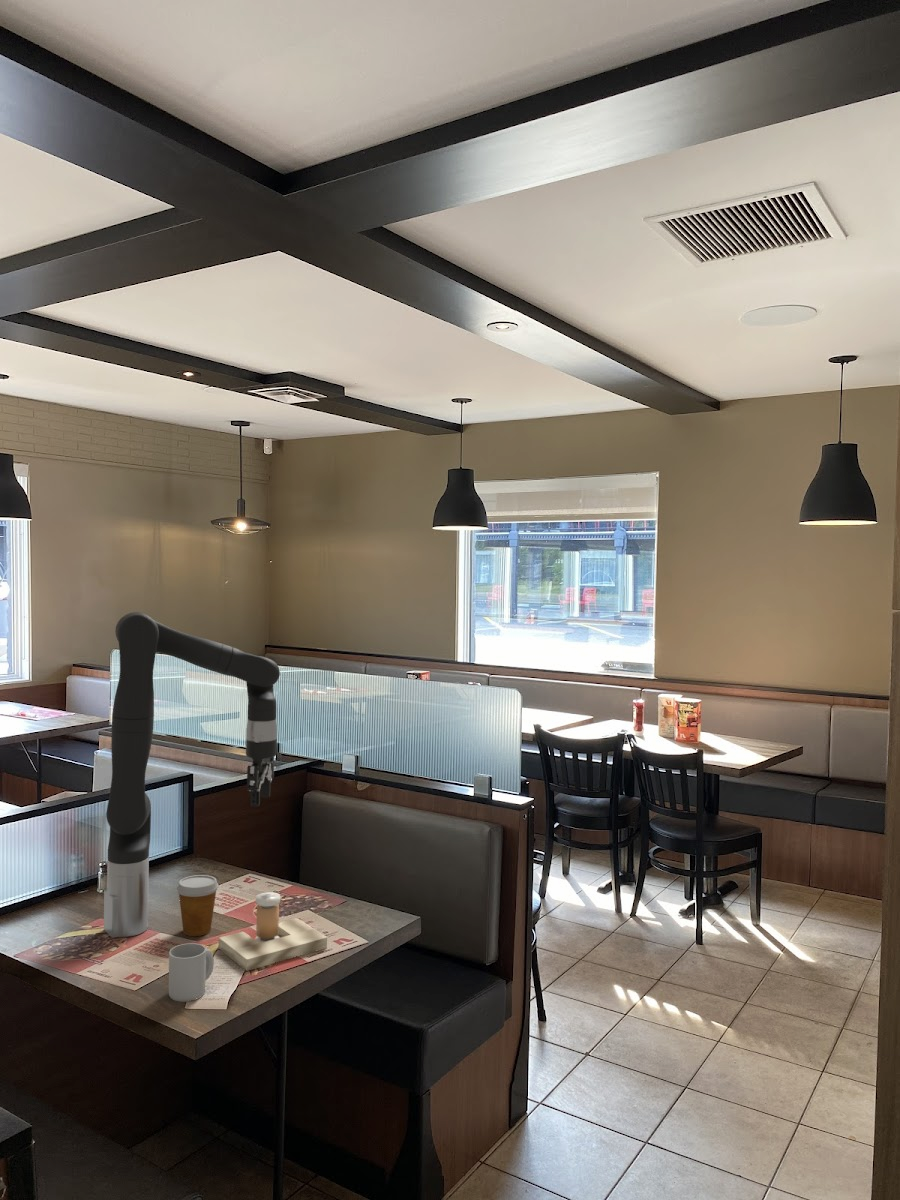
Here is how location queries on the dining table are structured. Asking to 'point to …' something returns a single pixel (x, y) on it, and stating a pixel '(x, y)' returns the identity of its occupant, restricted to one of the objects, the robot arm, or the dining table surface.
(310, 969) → the dining table surface
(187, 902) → the disposable coffee cup
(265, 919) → the bobbin
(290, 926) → the notched board
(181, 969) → the cup
